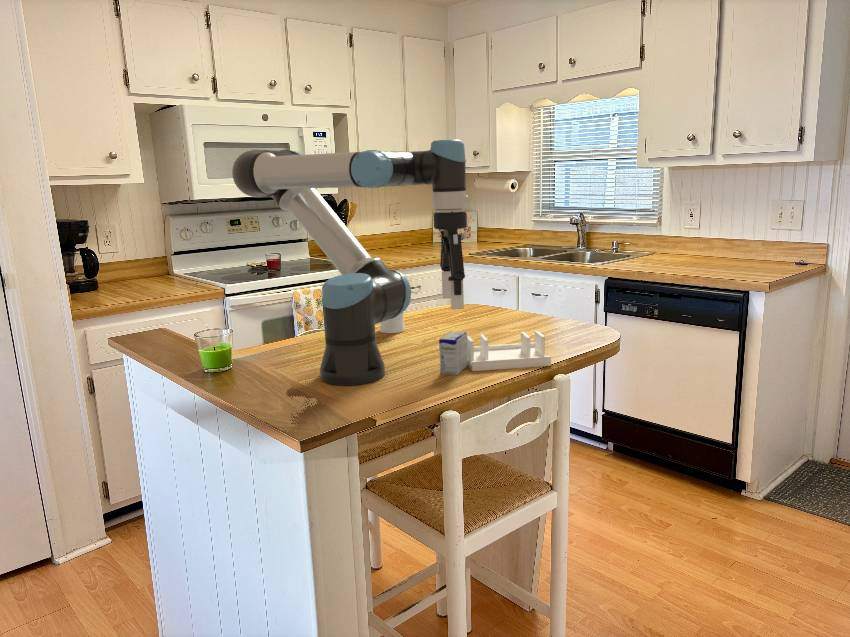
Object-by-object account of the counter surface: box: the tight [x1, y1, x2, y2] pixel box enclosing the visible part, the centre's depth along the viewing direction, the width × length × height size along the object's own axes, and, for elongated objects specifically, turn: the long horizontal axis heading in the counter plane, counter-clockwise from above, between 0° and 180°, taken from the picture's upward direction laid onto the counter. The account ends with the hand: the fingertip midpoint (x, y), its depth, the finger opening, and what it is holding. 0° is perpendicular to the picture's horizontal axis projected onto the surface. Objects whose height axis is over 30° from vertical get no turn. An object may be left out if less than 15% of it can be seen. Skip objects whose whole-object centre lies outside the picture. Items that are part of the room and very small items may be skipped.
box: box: [438, 331, 469, 376], centre depth 150 cm, size 8×4×9 cm, turn 159°
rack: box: [467, 330, 552, 372], centre depth 157 cm, size 19×14×6 cm
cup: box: [379, 311, 406, 334], centre depth 191 cm, size 11×11×15 cm
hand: (452, 303), depth 148 cm, fingers open, 13 cm apart
